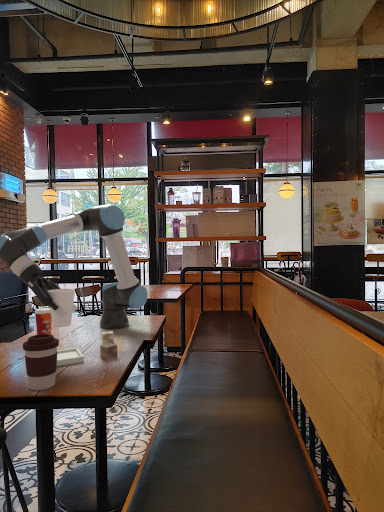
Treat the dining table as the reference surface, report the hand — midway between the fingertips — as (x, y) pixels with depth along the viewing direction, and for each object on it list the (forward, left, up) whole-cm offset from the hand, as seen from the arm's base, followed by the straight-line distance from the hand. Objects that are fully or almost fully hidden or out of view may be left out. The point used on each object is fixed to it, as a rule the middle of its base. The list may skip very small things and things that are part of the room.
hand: (70, 312), depth 131 cm
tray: (+3, -1, -18) cm, 18 cm away
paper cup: (+6, -37, -18) cm, 42 cm away
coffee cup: (+12, +23, -18) cm, 31 cm away
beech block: (-18, -17, -18) cm, 31 cm away
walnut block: (-13, +4, -18) cm, 22 cm away
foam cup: (+3, -2, -5) cm, 6 cm away
